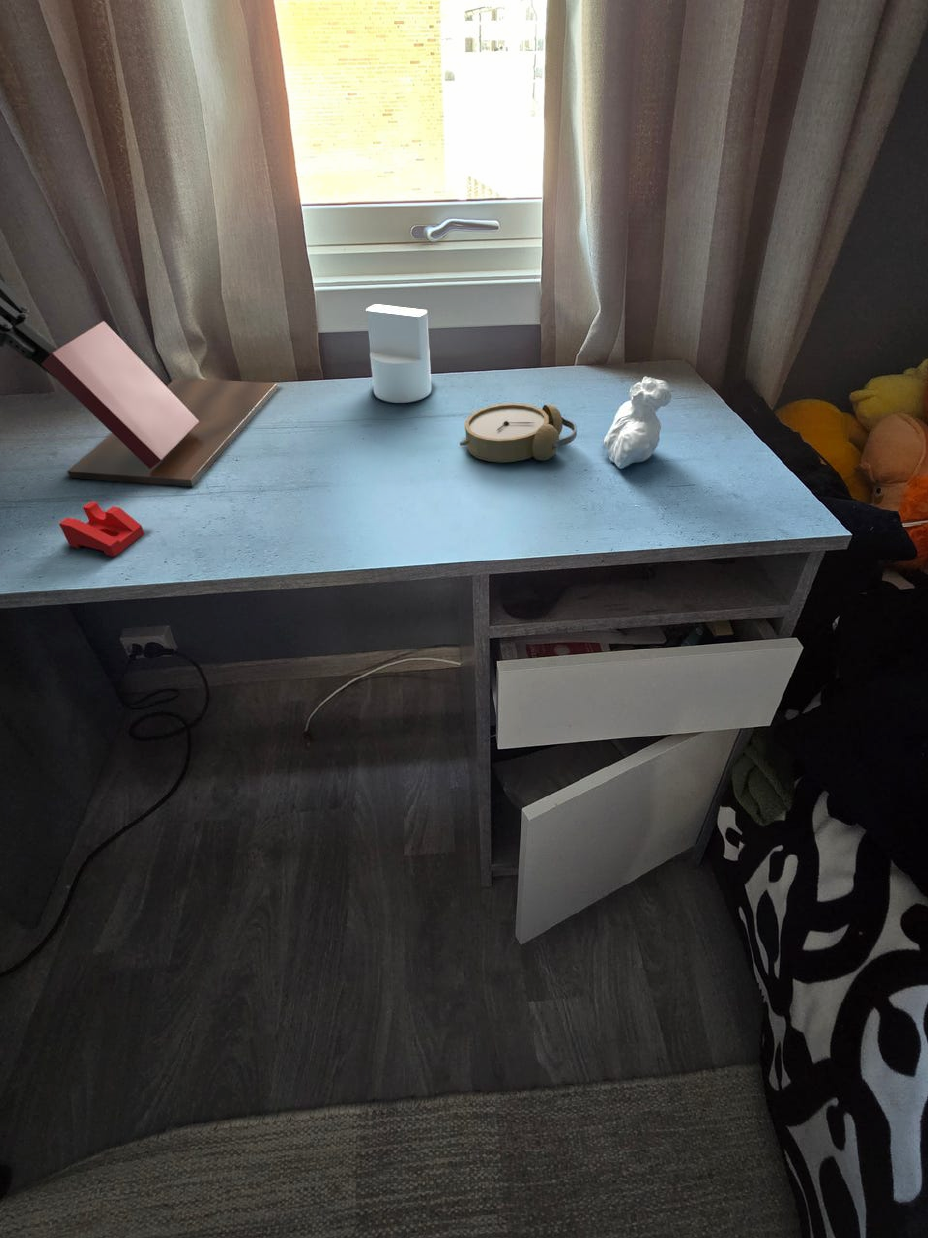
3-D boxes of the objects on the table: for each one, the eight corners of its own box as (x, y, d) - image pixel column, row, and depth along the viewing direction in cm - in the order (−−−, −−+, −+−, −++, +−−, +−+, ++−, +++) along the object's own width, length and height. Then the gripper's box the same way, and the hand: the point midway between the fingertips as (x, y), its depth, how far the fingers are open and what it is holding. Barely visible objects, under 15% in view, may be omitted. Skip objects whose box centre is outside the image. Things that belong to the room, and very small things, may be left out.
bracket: (69, 545, 78) (58, 523, 76) (100, 523, 81) (90, 501, 79) (114, 556, 76) (105, 534, 74) (144, 533, 79) (135, 511, 77)
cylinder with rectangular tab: (363, 397, 106) (354, 316, 98) (390, 375, 112) (383, 297, 104) (416, 406, 103) (410, 323, 95) (440, 383, 109) (437, 304, 101)
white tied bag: (632, 493, 88) (702, 430, 81) (588, 458, 85) (657, 390, 79) (626, 448, 97) (689, 388, 90) (586, 415, 94) (648, 351, 88)
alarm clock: (471, 403, 97) (578, 392, 92) (477, 435, 100) (581, 426, 96) (454, 440, 88) (570, 430, 84) (461, 474, 92) (574, 466, 87)
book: (149, 469, 88) (40, 364, 80) (189, 429, 96) (93, 331, 89) (161, 460, 87) (51, 352, 79) (200, 420, 95) (104, 320, 87)
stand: (70, 478, 89) (67, 471, 88) (177, 383, 111) (176, 377, 110) (192, 486, 87) (190, 479, 86) (277, 388, 109) (276, 382, 108)
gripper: (-173, 204, 71) (43, 371, 80) (-79, 180, 80) (104, 331, 89) (-184, 259, 75) (22, 411, 84) (-94, 230, 85) (82, 370, 94)
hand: (64, 370), depth 87 cm, fingers closed
